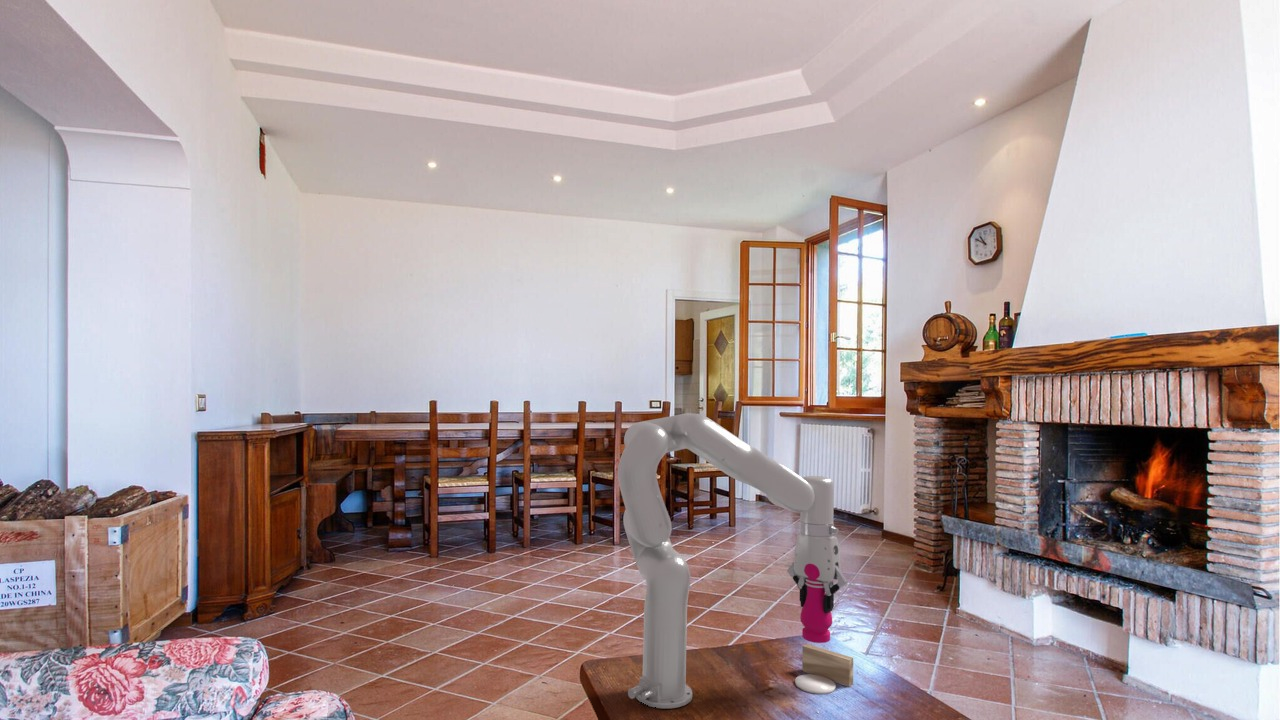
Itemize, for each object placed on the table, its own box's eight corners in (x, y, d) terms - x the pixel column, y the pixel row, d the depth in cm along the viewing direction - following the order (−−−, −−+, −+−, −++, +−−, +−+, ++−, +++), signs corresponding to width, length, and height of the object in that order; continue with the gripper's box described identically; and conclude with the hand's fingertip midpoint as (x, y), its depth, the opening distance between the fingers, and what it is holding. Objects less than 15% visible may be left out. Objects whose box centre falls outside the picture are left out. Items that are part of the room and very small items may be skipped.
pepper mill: (820, 646, 146) (820, 556, 147) (793, 636, 152) (794, 550, 153) (838, 639, 151) (838, 551, 152) (812, 630, 156) (812, 546, 158)
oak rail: (849, 686, 150) (849, 660, 151) (802, 671, 158) (802, 645, 159) (853, 684, 152) (853, 657, 152) (806, 668, 160) (806, 643, 160)
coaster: (824, 697, 144) (824, 695, 144) (788, 685, 150) (788, 682, 150) (842, 685, 151) (842, 682, 151) (806, 673, 157) (806, 671, 157)
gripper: (858, 533, 150) (858, 613, 149) (792, 522, 161) (791, 597, 160) (844, 537, 144) (843, 621, 143) (776, 526, 156) (775, 603, 155)
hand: (816, 607), depth 152 cm, fingers closed on pepper mill, 5 cm apart
